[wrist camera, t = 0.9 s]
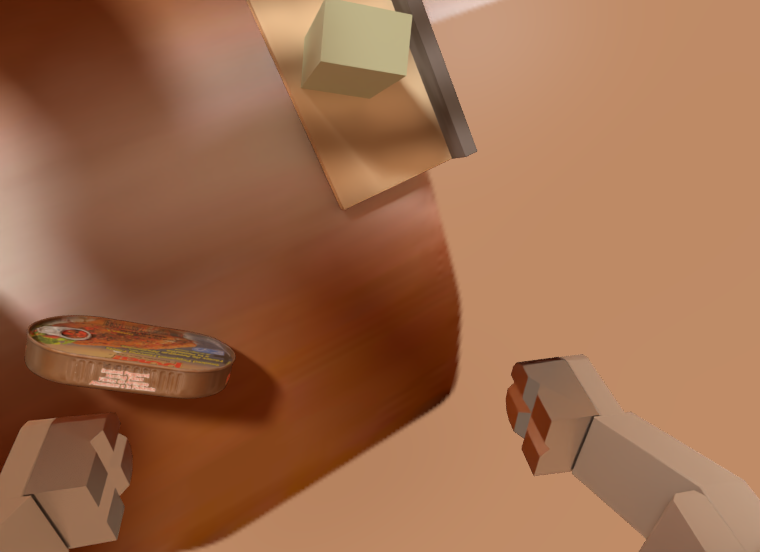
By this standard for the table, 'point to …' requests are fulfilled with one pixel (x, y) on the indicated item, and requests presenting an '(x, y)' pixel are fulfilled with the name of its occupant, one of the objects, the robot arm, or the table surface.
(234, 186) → the table surface
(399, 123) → the shelf
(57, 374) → the tin
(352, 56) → the carton
